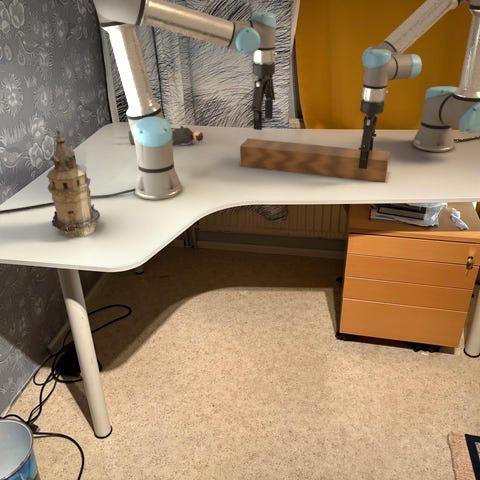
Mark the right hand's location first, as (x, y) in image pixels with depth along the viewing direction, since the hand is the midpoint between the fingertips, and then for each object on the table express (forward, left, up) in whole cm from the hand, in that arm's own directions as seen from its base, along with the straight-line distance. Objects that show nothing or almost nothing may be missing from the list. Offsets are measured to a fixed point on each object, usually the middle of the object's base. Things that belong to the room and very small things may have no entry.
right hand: (365, 161), depth 185 cm
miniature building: (+93, -31, -5) cm, 98 cm away
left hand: (+18, -32, +10) cm, 38 cm away
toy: (+31, -76, -5) cm, 82 cm away
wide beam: (+9, -16, -5) cm, 19 cm away
